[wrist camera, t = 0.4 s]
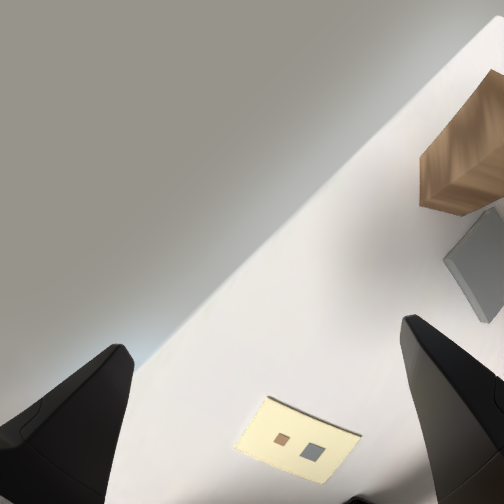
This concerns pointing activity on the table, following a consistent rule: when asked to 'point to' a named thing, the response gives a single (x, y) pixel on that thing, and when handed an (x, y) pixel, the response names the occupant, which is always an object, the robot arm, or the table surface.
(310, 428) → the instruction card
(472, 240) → the base plate
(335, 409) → the table surface
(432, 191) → the pillar
